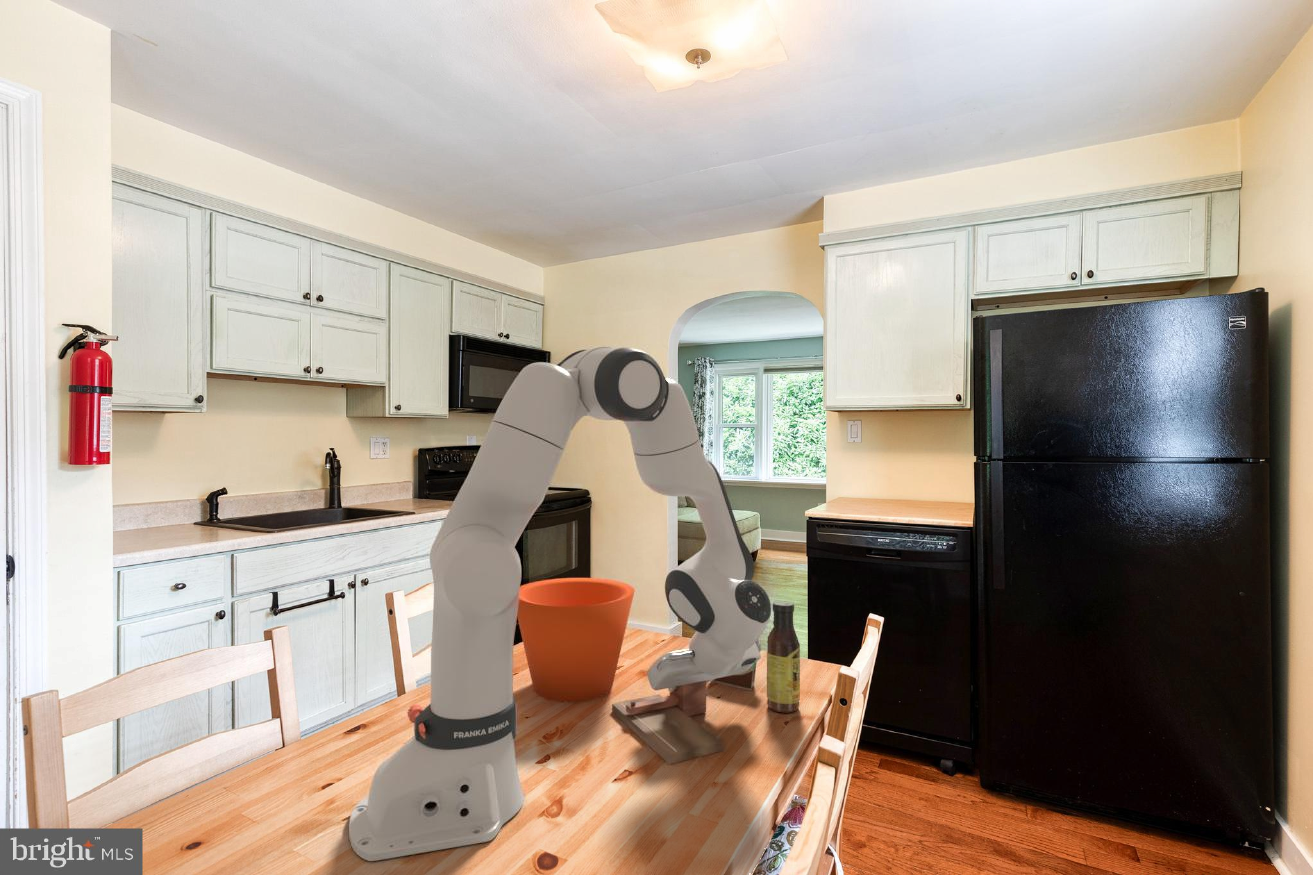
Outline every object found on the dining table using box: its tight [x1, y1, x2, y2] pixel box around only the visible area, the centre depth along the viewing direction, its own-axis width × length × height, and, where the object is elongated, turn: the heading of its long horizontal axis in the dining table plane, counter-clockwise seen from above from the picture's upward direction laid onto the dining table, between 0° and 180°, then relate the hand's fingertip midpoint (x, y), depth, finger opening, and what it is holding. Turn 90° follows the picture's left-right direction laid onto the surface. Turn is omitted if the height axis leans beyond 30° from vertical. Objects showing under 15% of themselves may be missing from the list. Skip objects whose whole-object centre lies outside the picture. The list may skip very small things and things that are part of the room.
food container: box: [711, 638, 762, 691], centre depth 136 cm, size 12×6×10 cm, turn 58°
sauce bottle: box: [766, 600, 801, 714], centre depth 123 cm, size 6×6×20 cm
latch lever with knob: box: [626, 681, 707, 717], centre depth 119 cm, size 15×5×9 cm, turn 118°
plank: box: [611, 694, 724, 765], centre depth 113 cm, size 10×22×2 cm, turn 28°
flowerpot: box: [517, 577, 635, 704], centre depth 133 cm, size 25×25×20 cm
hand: (686, 685), depth 122 cm, fingers closed on latch lever with knob, 5 cm apart
